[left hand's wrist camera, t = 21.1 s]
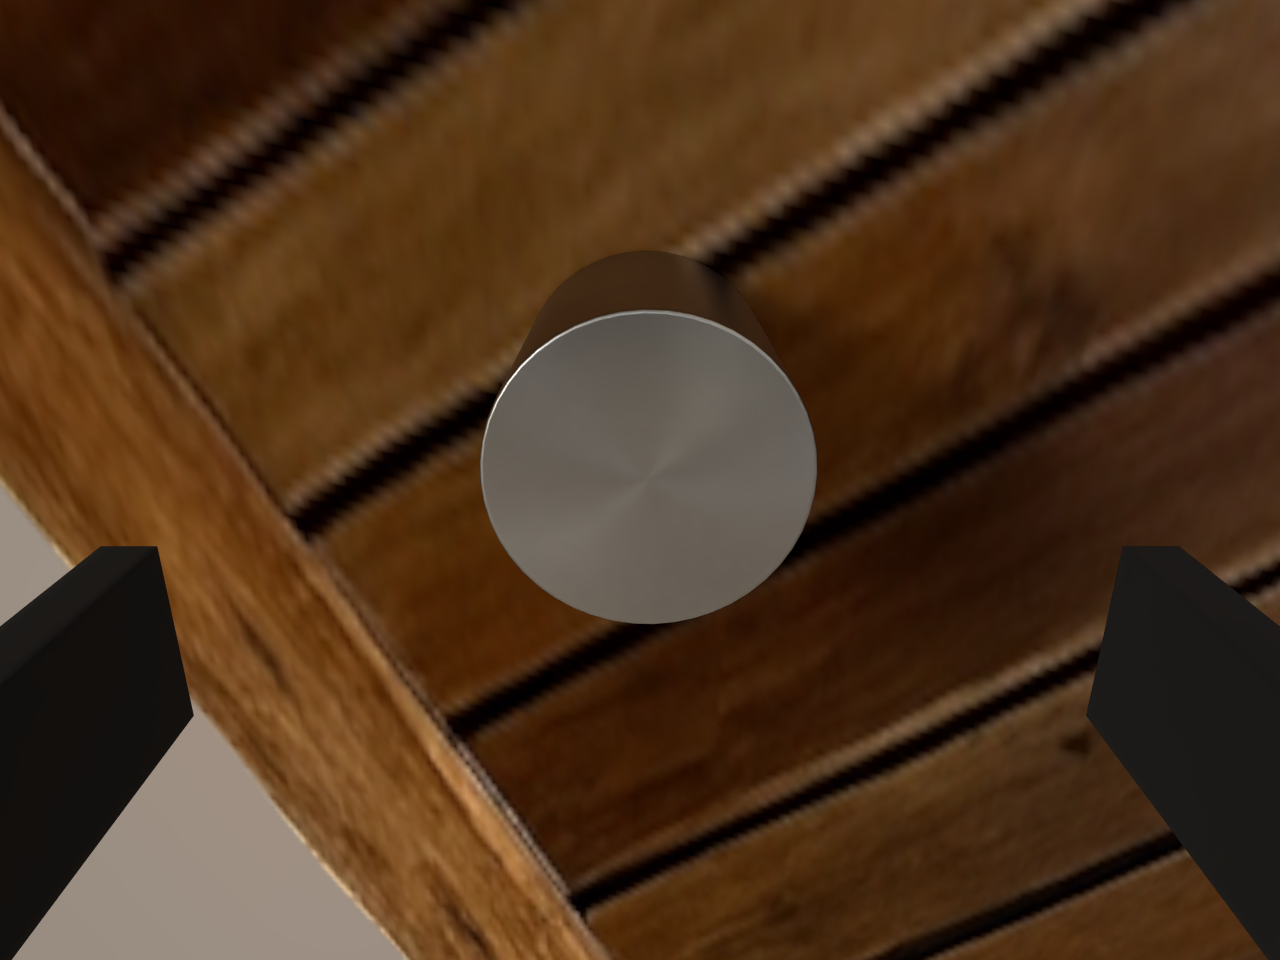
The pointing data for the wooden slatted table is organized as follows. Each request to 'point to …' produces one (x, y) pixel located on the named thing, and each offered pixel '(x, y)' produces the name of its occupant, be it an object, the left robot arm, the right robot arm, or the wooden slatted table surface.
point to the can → (648, 444)
